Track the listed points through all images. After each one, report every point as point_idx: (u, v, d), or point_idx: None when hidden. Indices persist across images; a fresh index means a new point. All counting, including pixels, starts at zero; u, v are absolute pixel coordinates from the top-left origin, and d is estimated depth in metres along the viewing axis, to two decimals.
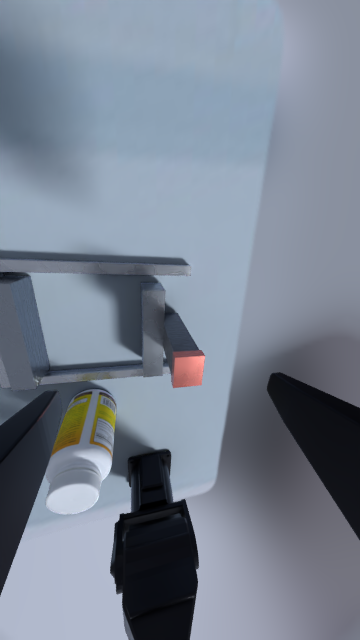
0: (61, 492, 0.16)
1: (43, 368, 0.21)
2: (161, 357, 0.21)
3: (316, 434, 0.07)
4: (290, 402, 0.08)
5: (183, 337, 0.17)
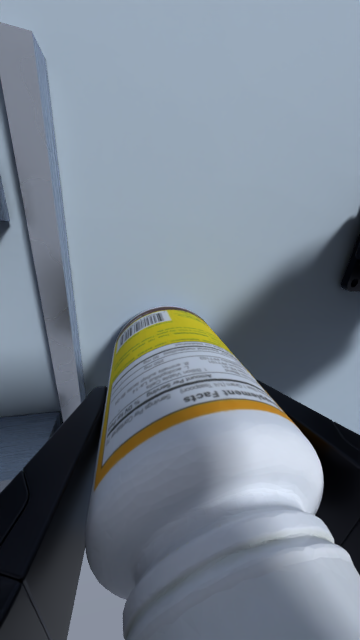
0: None
1: (32, 435, 0.10)
2: None
3: None
4: None
5: None
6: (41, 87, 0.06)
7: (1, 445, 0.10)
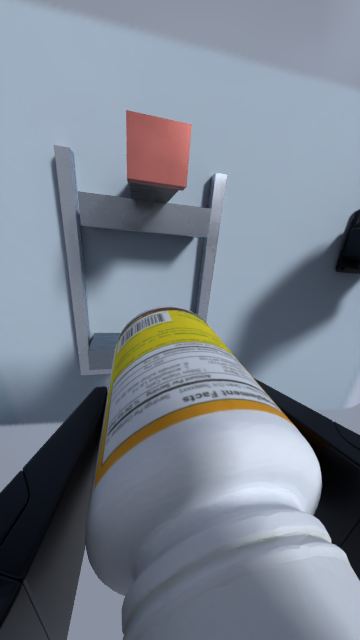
0: None
1: None
2: (181, 207, 0.15)
3: None
4: None
5: None
6: (223, 190, 0.17)
7: None
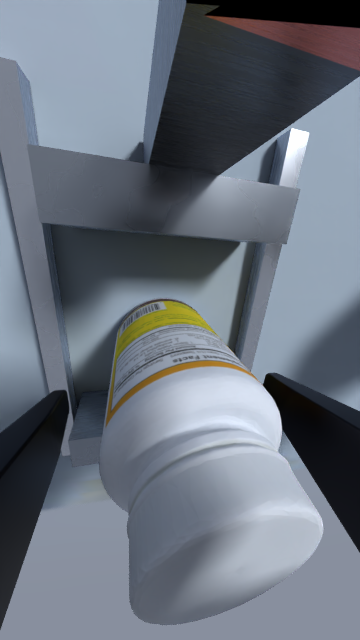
0: (168, 611, 0.04)
1: None
2: (246, 186, 0.07)
3: (310, 435, 0.07)
4: (285, 403, 0.08)
5: (161, 31, 0.04)
6: (299, 162, 0.10)
7: None
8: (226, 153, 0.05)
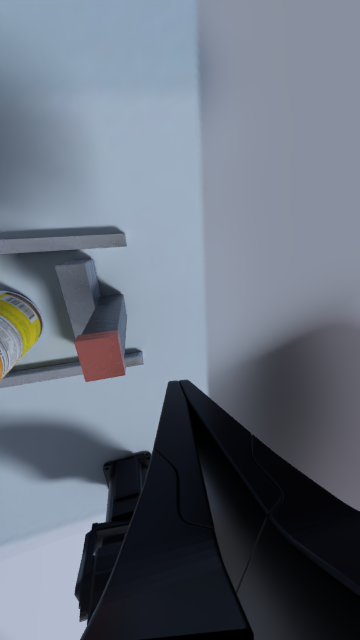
0: None
1: None
2: None
3: (199, 454, 0.06)
4: None
5: (108, 318, 0.14)
6: (133, 364, 0.22)
7: None
8: None
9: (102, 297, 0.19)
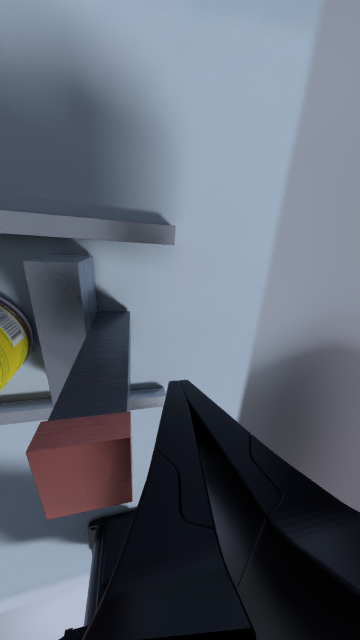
0: None
1: None
2: None
3: None
4: None
5: (108, 366, 0.08)
6: (151, 405, 0.16)
7: None
8: None
9: (99, 313, 0.12)
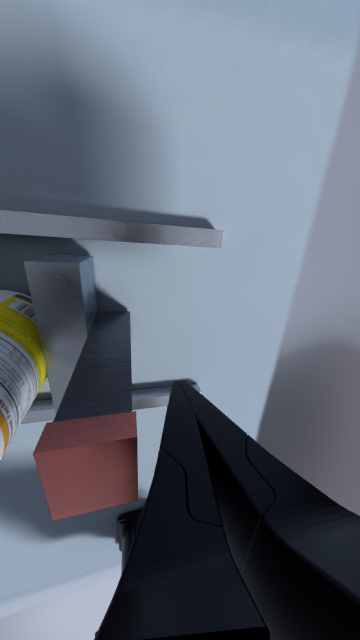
0: None
1: None
2: None
3: None
4: None
5: (110, 366, 0.08)
6: None
7: None
8: None
9: (99, 314, 0.12)
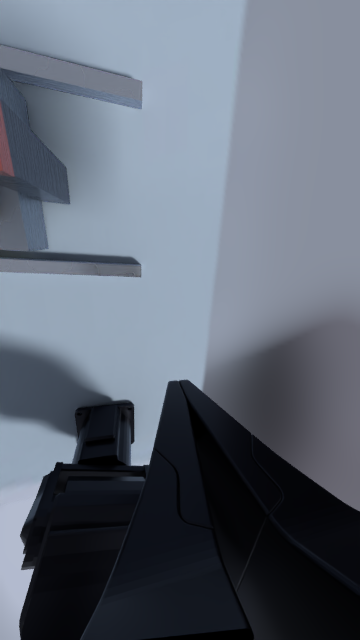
0: None
1: None
2: (18, 213, 0.12)
3: (199, 454, 0.06)
4: None
5: None
6: (128, 276, 0.18)
7: None
8: None
9: None
